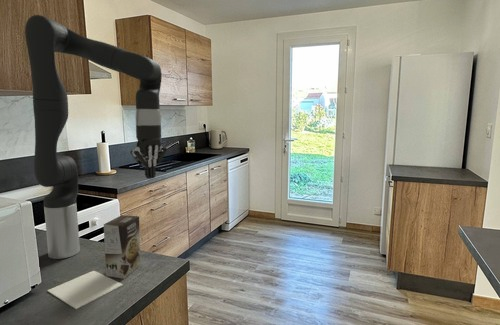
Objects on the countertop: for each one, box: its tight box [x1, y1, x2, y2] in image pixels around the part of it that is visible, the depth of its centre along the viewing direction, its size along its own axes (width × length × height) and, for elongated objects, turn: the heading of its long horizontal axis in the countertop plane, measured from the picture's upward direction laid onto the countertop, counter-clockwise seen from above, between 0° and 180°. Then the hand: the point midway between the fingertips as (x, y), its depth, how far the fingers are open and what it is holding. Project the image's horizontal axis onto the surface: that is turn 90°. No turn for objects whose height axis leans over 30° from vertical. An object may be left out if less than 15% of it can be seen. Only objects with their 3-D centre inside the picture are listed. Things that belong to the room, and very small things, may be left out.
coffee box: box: [103, 215, 142, 279], centre depth 94 cm, size 9×6×16 cm
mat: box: [47, 270, 124, 310], centre depth 85 cm, size 14×13×1 cm
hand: (150, 177), depth 100 cm, fingers closed
